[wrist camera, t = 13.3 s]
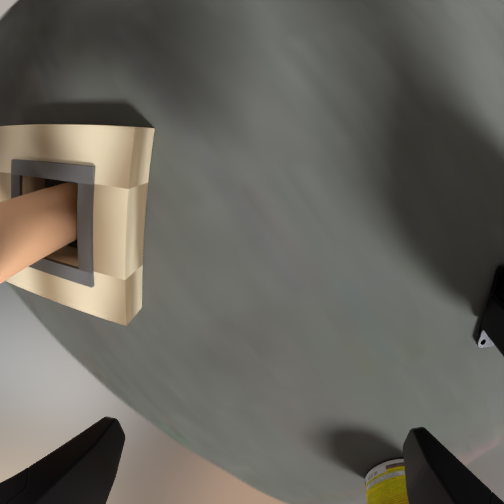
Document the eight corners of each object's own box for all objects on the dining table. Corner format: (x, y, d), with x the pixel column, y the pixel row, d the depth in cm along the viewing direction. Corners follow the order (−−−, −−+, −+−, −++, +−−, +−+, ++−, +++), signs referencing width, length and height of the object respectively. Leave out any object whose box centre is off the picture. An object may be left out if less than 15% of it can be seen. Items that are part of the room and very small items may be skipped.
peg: (78, 171, 19) (-74, 216, 7) (102, 223, 20) (-38, 304, 8) (44, 198, 20) (-88, 253, 8) (67, 246, 21) (-57, 324, 9)
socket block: (154, 128, 17) (132, 127, 14) (141, 307, 21) (124, 328, 19) (21, 124, 18) (-5, 126, 15) (23, 269, 22) (2, 282, 19)
